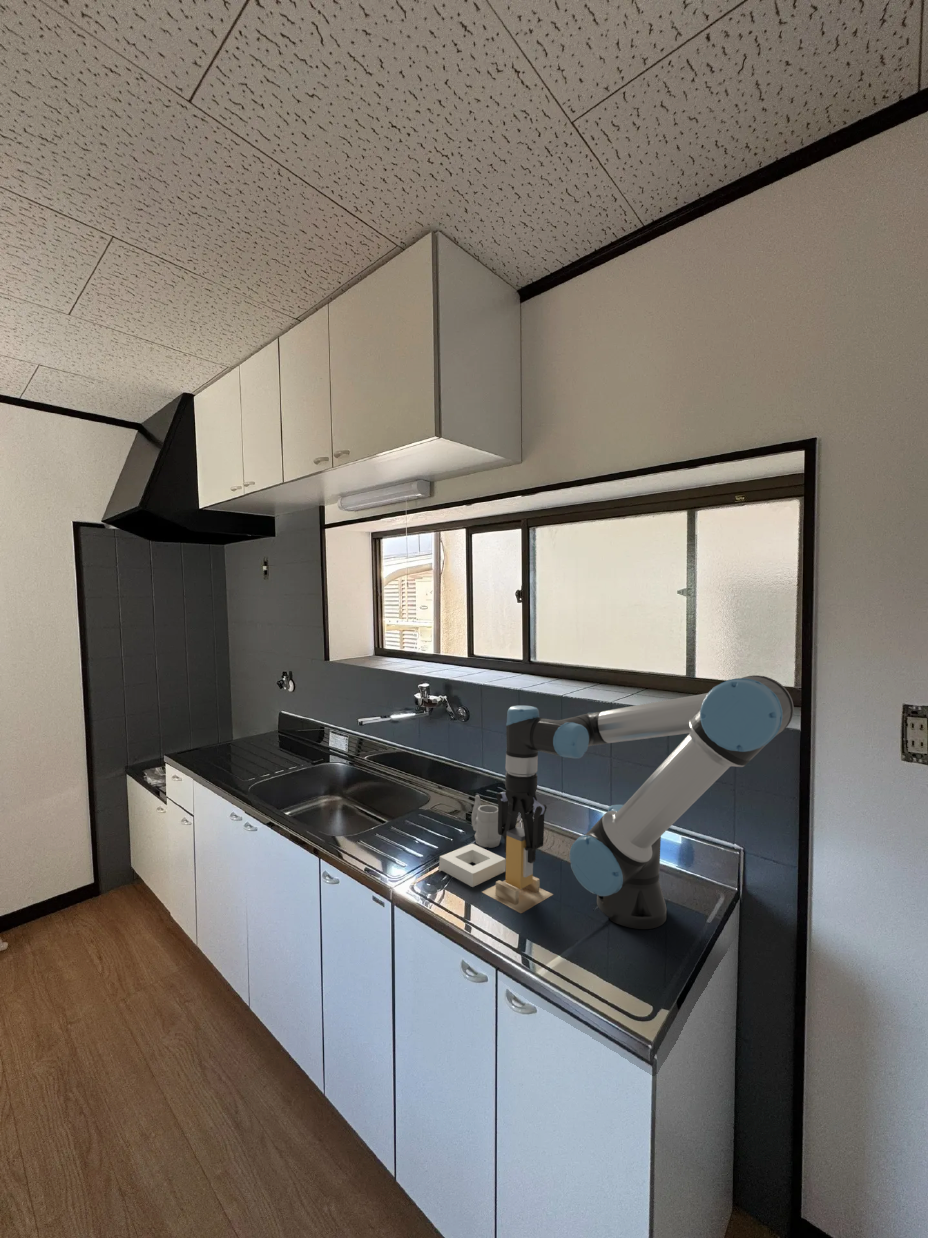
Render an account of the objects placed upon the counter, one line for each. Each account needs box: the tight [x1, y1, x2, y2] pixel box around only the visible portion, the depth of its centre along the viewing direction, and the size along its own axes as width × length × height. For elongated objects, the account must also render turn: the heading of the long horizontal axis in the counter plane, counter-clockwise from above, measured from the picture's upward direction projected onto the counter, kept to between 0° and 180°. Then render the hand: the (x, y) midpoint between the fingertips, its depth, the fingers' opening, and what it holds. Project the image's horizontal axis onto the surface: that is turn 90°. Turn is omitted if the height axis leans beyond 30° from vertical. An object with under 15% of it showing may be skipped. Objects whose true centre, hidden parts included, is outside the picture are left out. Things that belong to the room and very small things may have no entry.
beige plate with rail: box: [481, 875, 554, 914], centre depth 125 cm, size 12×12×4 cm
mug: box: [471, 794, 502, 849], centre depth 156 cm, size 8×12×12 cm, turn 34°
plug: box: [505, 826, 534, 889], centre depth 125 cm, size 4×4×12 cm
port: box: [438, 843, 506, 888], centre depth 135 cm, size 12×12×4 cm
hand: (519, 871), depth 125 cm, fingers closed on plug, 4 cm apart
